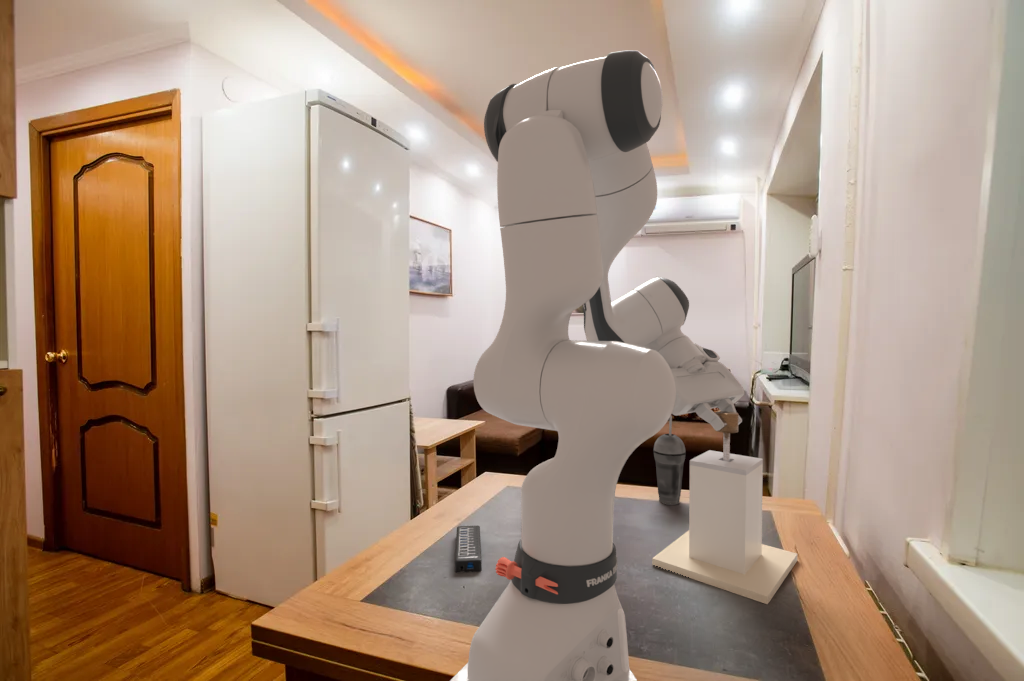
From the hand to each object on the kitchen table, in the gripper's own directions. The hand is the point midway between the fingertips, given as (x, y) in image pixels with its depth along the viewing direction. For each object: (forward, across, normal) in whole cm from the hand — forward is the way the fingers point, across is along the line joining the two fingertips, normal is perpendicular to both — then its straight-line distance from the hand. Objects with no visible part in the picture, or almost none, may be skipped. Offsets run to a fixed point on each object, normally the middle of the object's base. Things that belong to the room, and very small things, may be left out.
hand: (730, 426), depth 84 cm
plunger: (+11, 0, +12) cm, 16 cm away
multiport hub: (-5, -32, +40) cm, 51 cm away
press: (+16, 0, +17) cm, 24 cm away
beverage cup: (0, +18, +34) cm, 38 cm away
